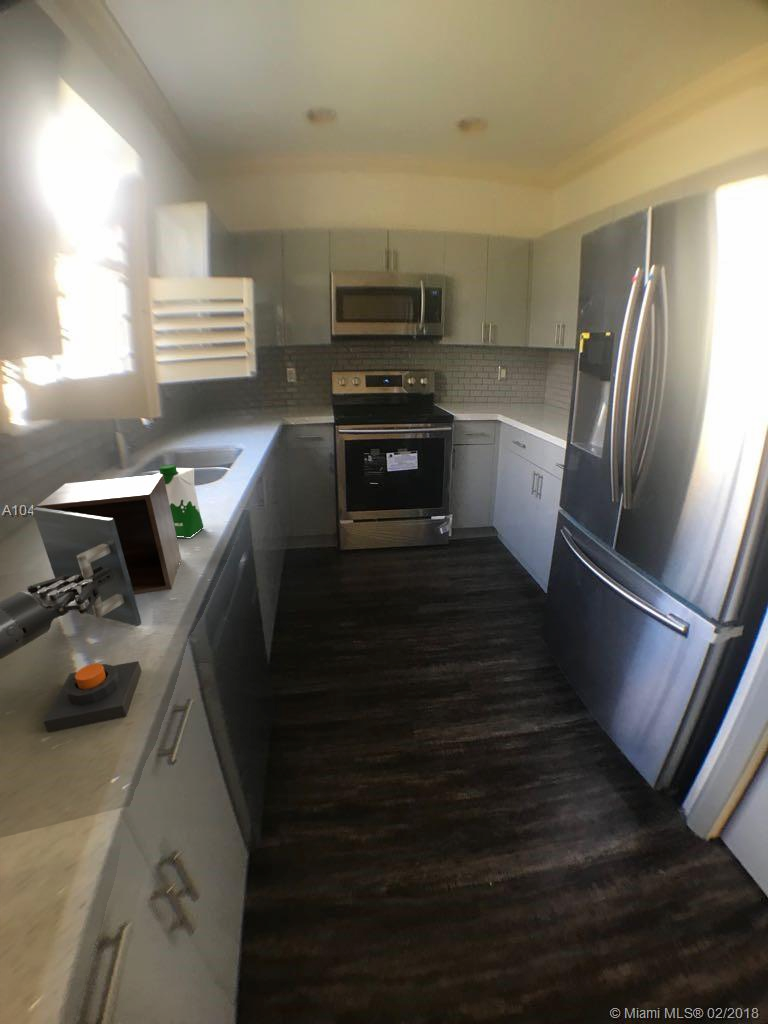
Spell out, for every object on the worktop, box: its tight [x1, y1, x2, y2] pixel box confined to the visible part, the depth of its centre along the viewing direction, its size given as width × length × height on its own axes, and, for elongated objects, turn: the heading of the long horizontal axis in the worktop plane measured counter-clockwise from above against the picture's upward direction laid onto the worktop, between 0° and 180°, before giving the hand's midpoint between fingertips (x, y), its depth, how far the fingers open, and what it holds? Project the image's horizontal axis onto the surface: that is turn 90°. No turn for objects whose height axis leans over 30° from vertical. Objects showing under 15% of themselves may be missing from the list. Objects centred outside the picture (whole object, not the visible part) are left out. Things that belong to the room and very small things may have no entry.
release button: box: [75, 663, 106, 689], centre depth 68 cm, size 4×4×2 cm
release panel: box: [43, 660, 142, 734], centre depth 69 cm, size 10×10×4 cm
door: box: [31, 507, 142, 627], centre depth 85 cm, size 6×20×22 cm, turn 69°
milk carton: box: [154, 463, 205, 537], centre depth 125 cm, size 9×9×20 cm
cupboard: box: [35, 474, 182, 596], centre depth 100 cm, size 15×20×22 cm
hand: (106, 571), depth 82 cm, fingers closed on door
